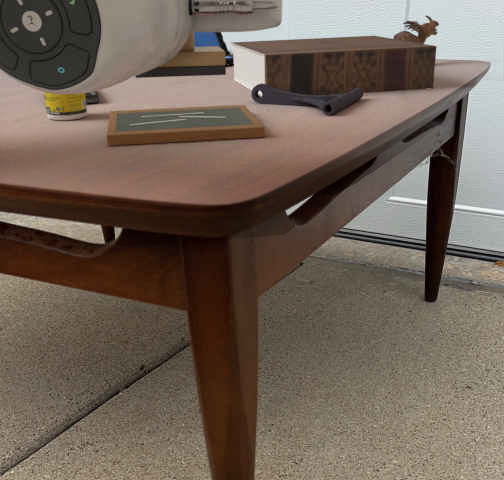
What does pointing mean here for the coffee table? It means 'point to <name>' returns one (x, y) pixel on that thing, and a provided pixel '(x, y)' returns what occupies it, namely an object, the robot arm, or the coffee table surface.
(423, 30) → the dragon figurine
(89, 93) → the phone
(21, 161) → the coffee table surface
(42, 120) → the coffee table surface
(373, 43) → the book
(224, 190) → the coffee table surface
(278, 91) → the bracket
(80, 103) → the supplement bottle
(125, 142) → the board
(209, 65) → the wooden stamp
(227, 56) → the game console
